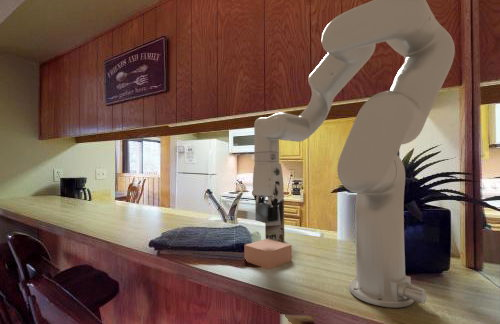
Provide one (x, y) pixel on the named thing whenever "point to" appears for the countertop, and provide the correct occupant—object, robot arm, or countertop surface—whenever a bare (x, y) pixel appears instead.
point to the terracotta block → (268, 253)
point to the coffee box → (276, 225)
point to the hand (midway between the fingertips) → (266, 218)
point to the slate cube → (263, 213)
